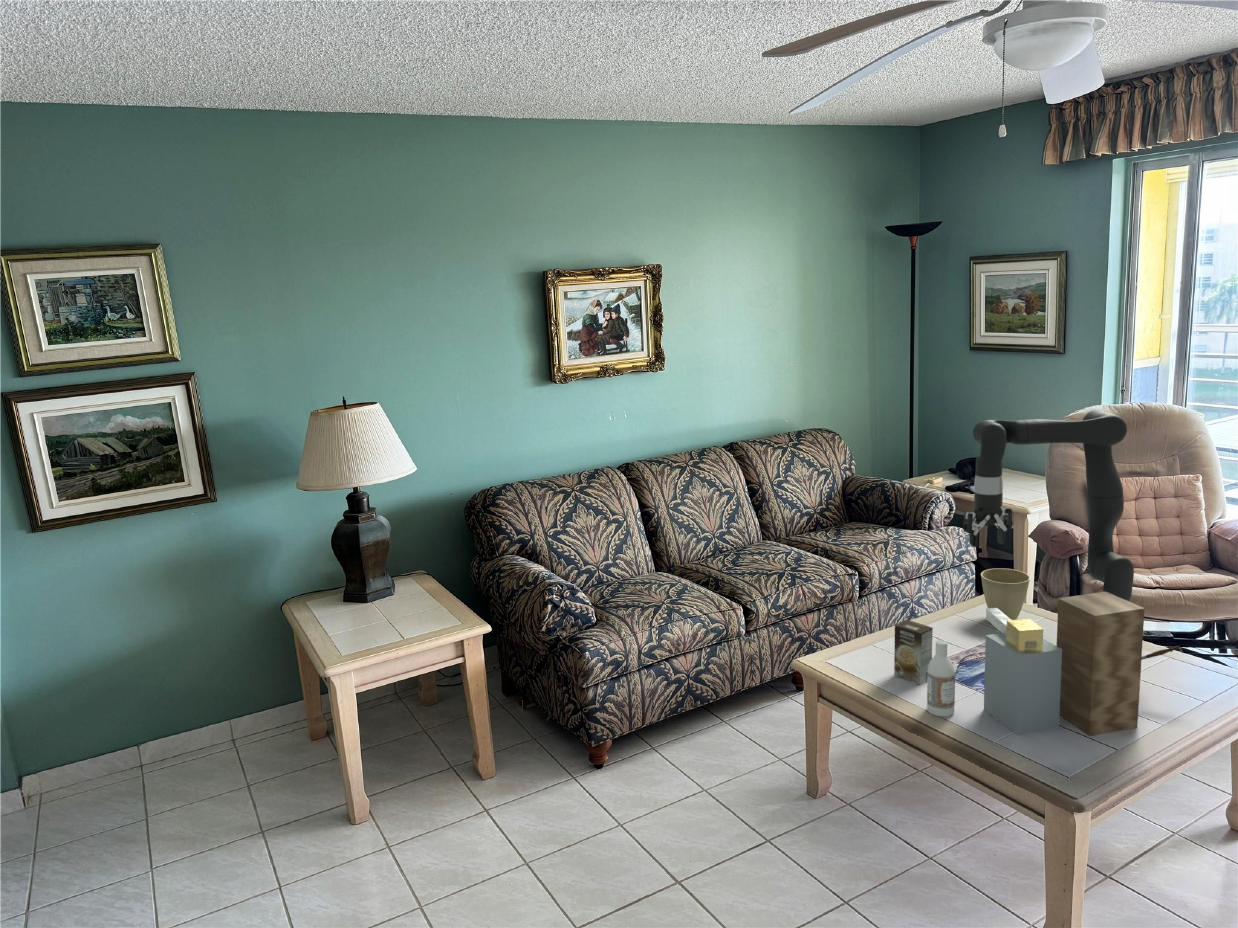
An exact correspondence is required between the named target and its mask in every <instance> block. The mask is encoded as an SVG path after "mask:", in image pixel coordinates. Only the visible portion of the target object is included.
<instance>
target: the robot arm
mask: <svg viewBox="0 0 1238 928" xmlns="http://www.w3.org/2000/svg"><path fill="white" fill-rule="evenodd" d="M1127 433H1128V427H1127V423H1126V422H1125V420H1124V419H1123V418H1122V417H1120V416H1119V415H1117V414H1115V413H1112V412H1110V411H1109V412H1108V411H1106V410H1102V409H1093V410H1090V411H1089V412H1087V413H1086V414H1085V415H1084V416H1083V418H1082V420H1058V419H1047V418H1045V419H1043V418H1042V419H1041V418H1039V419H1038V418H1037V419H1036V418H1035V419H1019V420H1005V419H985V420H981V421H979V422H977V423H976V424H975V425H974V427H973V429H972V436H973V439H974V440H975V441H976V442H977V443H979V444H980V451H979V455H977V456H976V458H975V459H976V460H975V476H974V483H973V485H974V486H973V487H974V488H973V489H974V492H973V494H974V495H973V501H974V502H973V506H974V511H973V512H970V511H969V512H968V511H965V512H964V513H963V514H964V515H963V523H962V524H963V526H962V531H963V532H964V533H967V534H968V535H969V544H970V546H971V547H972V548H977V547H978V545H979V544H978V541H979V540H978V539H979V538H978V536H979V535H978V533H979V532H980V530H982V529H983V528H984V527H987V526H990V525H991V526H996V528H997V530H996V531H997V533H996V534H997V535H996V538H997V539H996V542H997V543H998V544H1000V545H1003V544H1004V543H1005V541H1006V531H1008V530H1009V529H1013V510H1012V508H1010V507H1008V506H1004V507H1003V498H1004V497H1003V496H1004V495H1003V494H1004V493H1003V491H1004V490H1003V489H1004V481H1003V458H1004V456H1005V451H1006V447H1007V444H1013V445H1016V446H1017V445H1019V446H1020V445H1021V446H1025V445H1026V446H1027V445H1044V444H1082V446H1083V451H1084V457H1085V458H1084V459H1085V481H1086V504H1087V505H1086V507H1087V516H1088V517H1087V518H1088V545H1087V546H1088V547H1087V557H1086V558H1087V560H1086V561H1087V564H1086V565H1087V571H1088V573H1089V575H1090V576H1091V577H1092V578H1093V579H1095V580H1097V581H1099V582H1101V583H1103V586H1102V592H1105V591H1106V592H1108V593H1110V594H1113V595H1115V596H1117V597H1119V598H1122V599H1124V600H1126V601H1129V602H1131V601H1130V600H1131V598H1132V594H1133V587H1134V579H1135V578H1134V577H1135V576H1134V575H1135V568H1134V564H1133V562H1132V561H1131V559H1129V558H1128V557H1126V556H1123V555H1121V554H1118V553H1116V552H1115V551H1114V550H1115V549H1114V543H1113V536H1114V531H1115V529H1116V527H1117V525H1118V523H1119V522H1120V520H1121V518H1122V516H1123V513H1124V507H1125V501H1124V497H1125V495H1124V488H1123V483H1122V480H1121V477H1120V474H1119V473H1118V470H1117V468H1116V464H1115V462H1114V461H1115V460H1114V459H1113V450H1112V449H1113V446H1115V445H1118V444H1120V443H1121V442H1122V441H1123V440H1124V438H1125V437H1126V435H1127ZM1002 507H1003V508H1002ZM1001 516H1002V519H1001ZM978 523H979V524H978Z"/></svg>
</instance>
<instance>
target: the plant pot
mask: <svg viewBox="0 0 1238 928" xmlns="http://www.w3.org/2000/svg"><path fill="white" fill-rule="evenodd" d="M980 577H981V578H980V579H981V585H982V586H981V587H982V591H983V596H984V600H985V603H986V607H987V609H988V608H998V609H999V610H1000V611H1001V612H1003V613H1004V614H1005V615H1006V616H1007V617H1009V618H1010V619H1011V620H1018V619H1019V616H1020V614H1021V610H1022V608H1023V607H1024V602H1025V600H1026V597H1027V593H1028V590H1029V585H1030V580H1031V577H1030V575H1029V574H1028V573H1026V572H1023V571H1020V570H1018V569H1012V568H1002V567H1001V568H989V569H985V570H983V571H982V572H981V573H980Z"/></svg>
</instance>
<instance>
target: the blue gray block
mask: <svg viewBox="0 0 1238 928" xmlns="http://www.w3.org/2000/svg"><path fill="white" fill-rule="evenodd" d="M984 643H985V645H984V646H985V647H984V649H985V650H984V685H983V686H984V687H983V688H984V689H983V690H984V691H983V692H984V693H983V711H985V712H986V713H987V714H988V715H990V717H991V716H992V718H994V719H995V720H997V721H998V722H999V723H1001V725H1003V726H1005V727H1006V728H1007V729H1008V730H1010V731H1011V732H1013V733H1014V734H1015V735H1017V736H1020V735H1024V734H1030V733H1031V734H1032V733H1037V732H1041V731H1049V730H1053V729H1057V728H1058V729H1059V727H1060V716H1059V713H1060V688H1061V664H1062V649H1061V648H1059V647H1057V644H1054V643H1052V642H1050V641H1049V640H1047V639H1045V638H1043V650H1042V652H1028V653H1018V652H1017V651H1016V650H1015V649H1013V648H1012V647H1011V646H1010V645H1009V644H1008V643H1007V642H1006V636H1005V635H1004V634H1003V633H1002V632H997V633H992V634H986V635H985V641H984Z"/></svg>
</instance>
